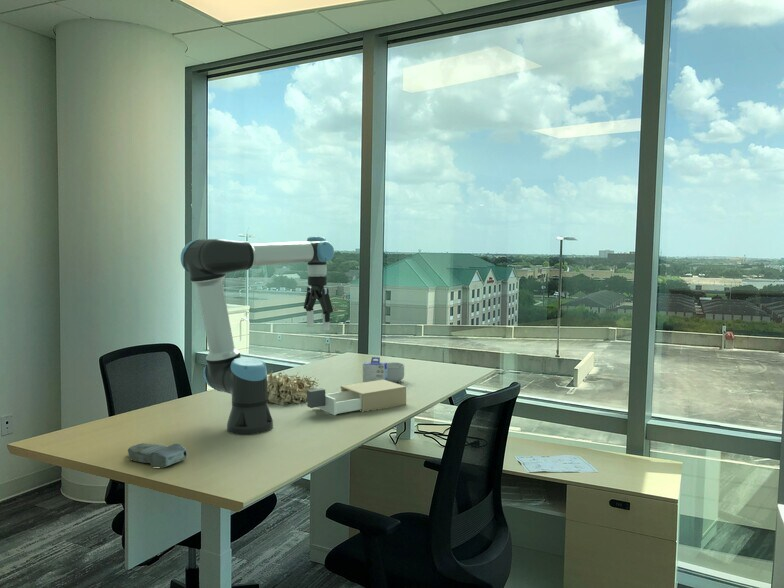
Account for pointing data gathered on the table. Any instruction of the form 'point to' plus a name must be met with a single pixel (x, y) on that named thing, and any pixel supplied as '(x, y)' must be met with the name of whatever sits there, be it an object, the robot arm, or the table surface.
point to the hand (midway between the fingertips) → (318, 328)
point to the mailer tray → (334, 401)
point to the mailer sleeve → (378, 394)
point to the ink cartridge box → (374, 370)
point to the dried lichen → (288, 388)
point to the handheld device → (157, 454)
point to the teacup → (395, 372)
